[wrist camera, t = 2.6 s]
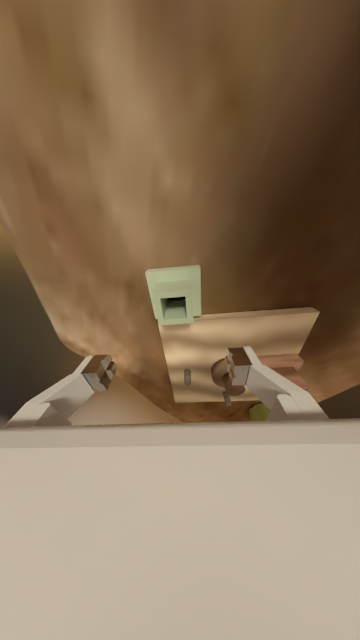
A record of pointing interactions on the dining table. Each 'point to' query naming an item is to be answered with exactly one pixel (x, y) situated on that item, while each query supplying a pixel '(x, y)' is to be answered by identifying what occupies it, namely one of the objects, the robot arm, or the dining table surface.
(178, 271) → the pale green pipe fitting
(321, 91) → the dining table surface
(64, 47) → the dining table surface
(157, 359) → the dining table surface
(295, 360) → the plate
